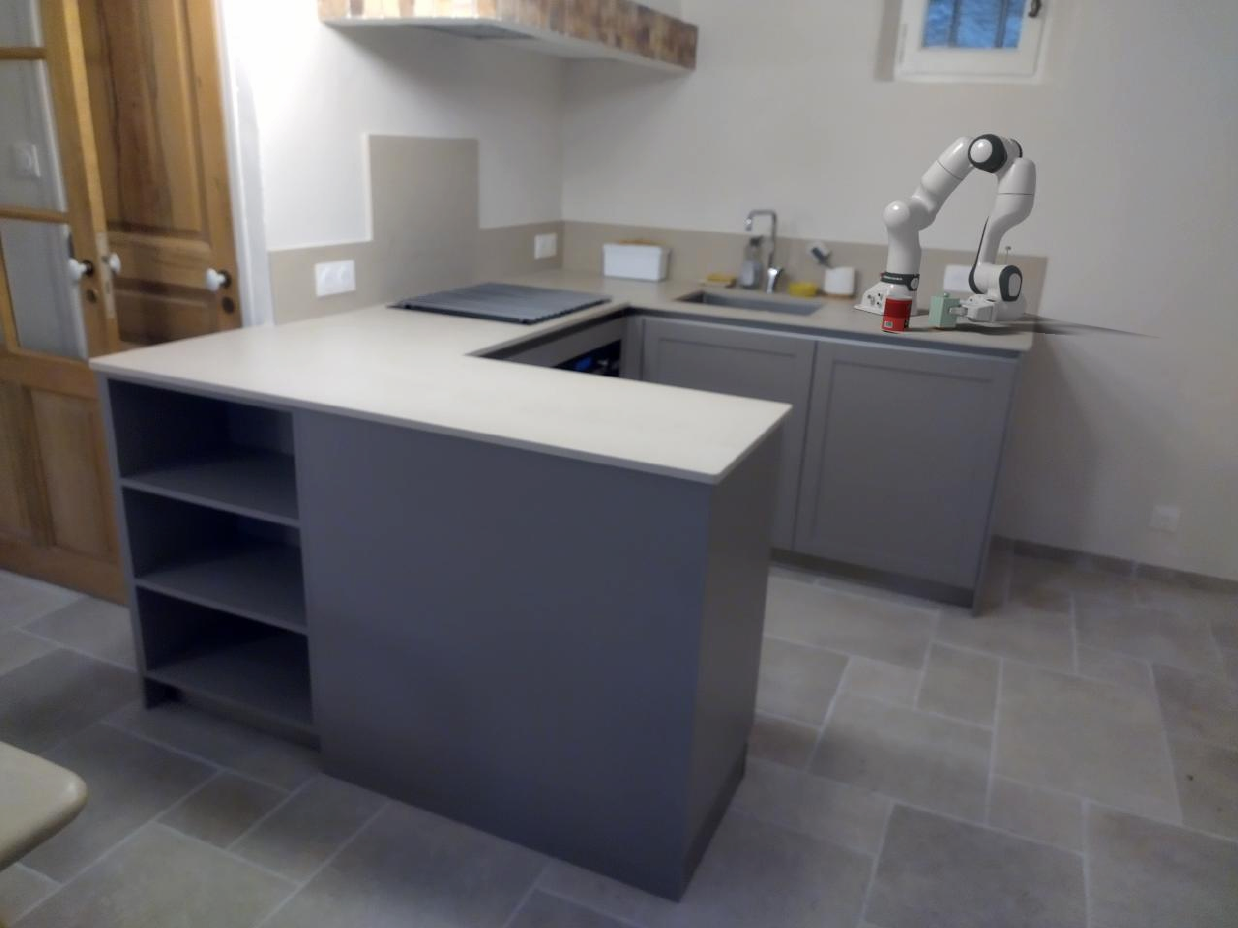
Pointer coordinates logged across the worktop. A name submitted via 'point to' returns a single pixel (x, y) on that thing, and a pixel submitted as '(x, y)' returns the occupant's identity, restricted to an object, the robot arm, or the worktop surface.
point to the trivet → (941, 330)
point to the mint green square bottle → (943, 311)
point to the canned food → (897, 313)
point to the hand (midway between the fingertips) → (941, 308)
